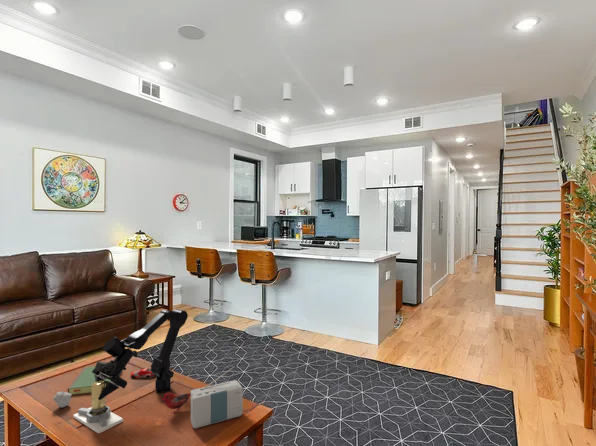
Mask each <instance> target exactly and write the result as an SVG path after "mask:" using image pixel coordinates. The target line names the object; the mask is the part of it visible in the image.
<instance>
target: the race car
mask: <svg viewBox="0 0 596 446" xmlns="http://www.w3.org/2000/svg"><path fill="white" fill-rule="evenodd" d="M130 378H131V379H147V378H149V379H153V378H155V376H154V374H152V372H151V368H145V367H144V368H142V369H139V370H135V371H132V372H130Z"/></svg>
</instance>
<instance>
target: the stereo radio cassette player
mask: <svg viewBox="0 0 596 446" xmlns="http://www.w3.org/2000/svg"><path fill="white" fill-rule="evenodd" d="M235 367H236V366H234V365H233V367H232V368H230V369H229V370H227V371H225V372H224V373H223V374H221V375H220V376H218V377H217V378H215V379H214V380H213V381H211V382H210V383H209V384H207V385H206V386H204V387H200V388H195V389H191V390H190V393H191V396H190V423H191V425H192V427H193V428H194V429H198V428H203V427H205V426H209V425H213V424H216V423H220V422H223V421H228V420H231V419H234V418H239V417H241V416H242V415H243V411H244V410H243V407H244V405H243V404H244V403H243V402H244V401H243V400H244V390H243V389H244V387H243V386H242V385H241V383H240V382H239V381H238V380H236V379H235V380H230V381H226V382H221V383H217V384H214V383H215V382H216V381H218V380H219V379H220V378H221V377H223V376H225V375H226V374H227V373H228V372H230V371H231V370H232V369H233V368H235Z"/></svg>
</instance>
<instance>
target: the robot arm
mask: <svg viewBox="0 0 596 446" xmlns="http://www.w3.org/2000/svg"><path fill="white" fill-rule="evenodd" d="M188 317H189V314H188V312H187V311H186V310H182V309H179V308H175V309H173V310H169V309H167V310H166V309H161V311H160V312H159V313H158V314H157V315H156V316H155V317H153V318H152V319H151V320H150V321H149V322H148V323H147V324H146V325H145V326H143V327H142V328H141V329H139V330H137V331H134V332H133V333H131V334H129V335H128V336H127V337H126V338H124V339H122V340H120V338H119V337H116V336H113V337H112V338H110V339H109V340H107V341H106V342H105V343H104V344H103V348H102V350H103V351H104V352H105V353H107V354H108V355H110V356H111V357H113V358H114V359H113V360H112V359H111V360H110V361H107V362H106V361H97V362H96V364H95V366H94V367H95V368H94V369H93V371H92V373H94V374H95V375H94V376H95V382H97V381H105V379H109V380H111V381H110V382H109V381H107V380H106V381H105V384H106V386H105V388H104V390H103V391H102V393H101V394H100V396H99V398H98V399H99V400H101V399H103V398H104V397H105V398H106V397H108V395H110V394H111V393H113V392H114V391H117V390H119V389H120V388H121V389H125V388H126V387H127V386H128V381H127V380H125V379H124V378H123V377H121V376H120V375H121V374H122V372H123V371H126V370H127V365H128V364H129V362H130V361H131V359H133V357H134V358H138V351H137V350H141V349H142V348H143V347H144V346H145V344H146V343H147V342H148V340H149V337H150V336H152V334H154V332H156V331H157V330H158V329H159V328H160V327H161V326H162V325H163V324H164V323H165V322H166V321H167V320H169V321H168V322H169V327H168V330H167V334H166V337H165V339H164V342H163V345H162V347H161V350H160V353H159V355H158V357H156V358H155V357H154V358H153V359H152V363H151V365H150V369H151V372H152V374H154V376H155V377H156V379H155V381H154V389H155V391H156V393H157V394H160V393H165V392H166V393H167V392H171V391H172V387H171V379H172V378H173V377H174V372H173V371H172V370H171V369H170V368H171V360H170V358H171V354H172V352H173V349H174V346H175V343H176V341H177V337H178V334H179V332H180V329H181V328H182V327H183V326H184V325H185V324H186V322H187V320H188ZM155 377H154V378H155ZM90 396H91V397H92V392H91V393H90Z"/></svg>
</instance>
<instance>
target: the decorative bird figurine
mask: <svg viewBox="0 0 596 446" xmlns="http://www.w3.org/2000/svg"><path fill="white" fill-rule="evenodd" d="M189 398H191V392H190V393H175V394H174V393H173V392H166V393H165V394H164V396H163V398H162V399H161V401H163V402H164V403H165V405H166V407H167V408H168V409H171V410H174V411H173V412H171V414H176V413H177V412H179V411H180V410H182V408H181V407H182V406H183V405H184V404H185V403H187V402H188V400H189Z"/></svg>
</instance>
